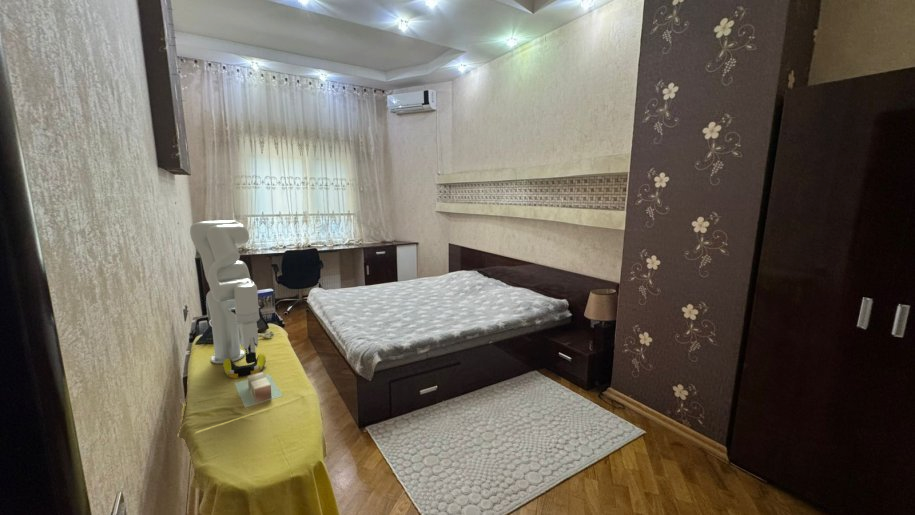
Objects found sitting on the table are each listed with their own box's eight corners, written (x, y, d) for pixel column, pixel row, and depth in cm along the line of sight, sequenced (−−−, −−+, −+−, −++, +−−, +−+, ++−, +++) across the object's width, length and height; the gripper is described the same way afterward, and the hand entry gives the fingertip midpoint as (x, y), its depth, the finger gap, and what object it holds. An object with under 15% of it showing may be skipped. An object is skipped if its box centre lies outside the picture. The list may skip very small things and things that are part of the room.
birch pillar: (247, 375, 135) (254, 389, 126) (262, 371, 139) (270, 384, 130) (248, 388, 136) (255, 402, 127) (263, 383, 139) (271, 397, 130)
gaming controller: (224, 370, 150) (222, 382, 141) (223, 358, 149) (220, 368, 140) (266, 363, 157) (266, 374, 148) (265, 351, 156) (265, 361, 147)
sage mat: (234, 384, 139) (234, 383, 139) (268, 375, 147) (268, 373, 147) (245, 409, 124) (245, 407, 124) (283, 397, 132) (283, 395, 132)
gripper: (232, 312, 140) (236, 357, 144) (240, 324, 129) (244, 372, 133) (254, 308, 145) (257, 352, 149) (263, 320, 134) (266, 366, 137)
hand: (251, 361), depth 141 cm, fingers closed
